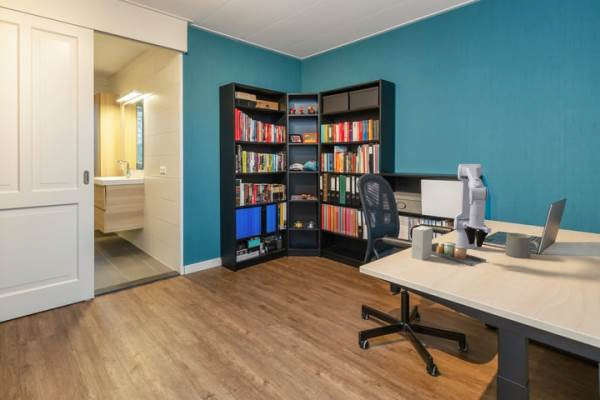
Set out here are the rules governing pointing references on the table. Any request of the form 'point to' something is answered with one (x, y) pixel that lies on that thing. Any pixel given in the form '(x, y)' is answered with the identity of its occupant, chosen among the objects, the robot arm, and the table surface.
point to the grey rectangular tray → (469, 259)
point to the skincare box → (421, 243)
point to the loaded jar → (449, 249)
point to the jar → (460, 252)
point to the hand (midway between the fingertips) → (475, 245)
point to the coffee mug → (520, 245)
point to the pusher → (440, 249)
